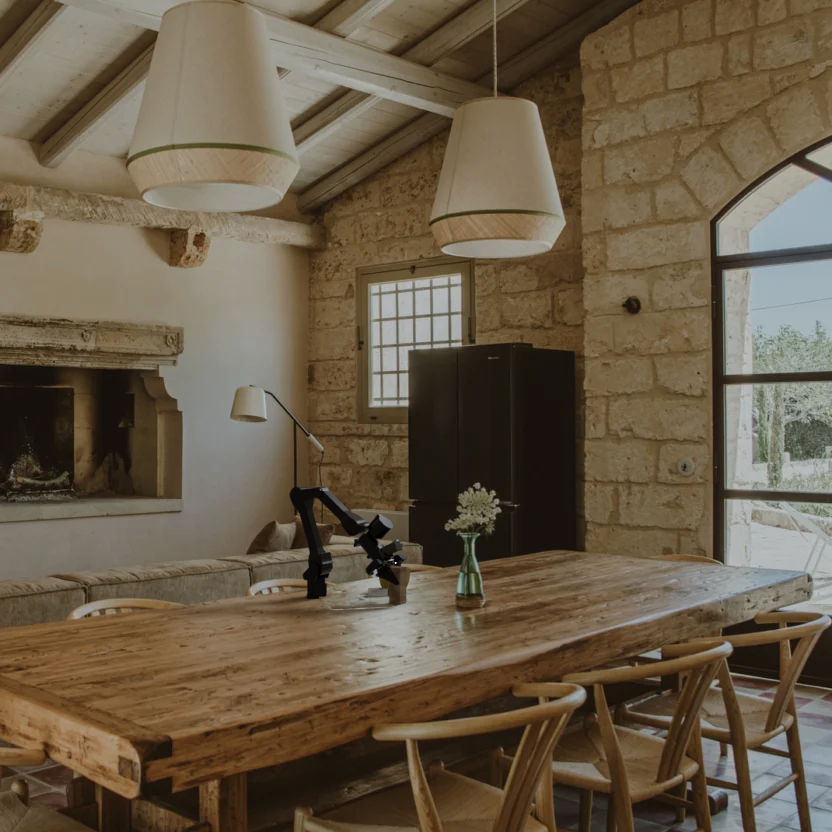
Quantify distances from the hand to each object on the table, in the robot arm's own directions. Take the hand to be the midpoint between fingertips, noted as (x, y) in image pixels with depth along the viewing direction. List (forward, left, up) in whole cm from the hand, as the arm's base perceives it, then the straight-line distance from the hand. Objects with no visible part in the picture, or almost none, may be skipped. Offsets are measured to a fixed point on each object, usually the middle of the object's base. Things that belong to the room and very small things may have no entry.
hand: (401, 583), depth 334 cm
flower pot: (0, +26, -7) cm, 27 cm away
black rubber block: (-1, +17, -7) cm, 19 cm away
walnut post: (-1, +1, -7) cm, 7 cm away
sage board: (-3, +12, -7) cm, 14 cm away
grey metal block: (-7, +16, -7) cm, 19 cm away
